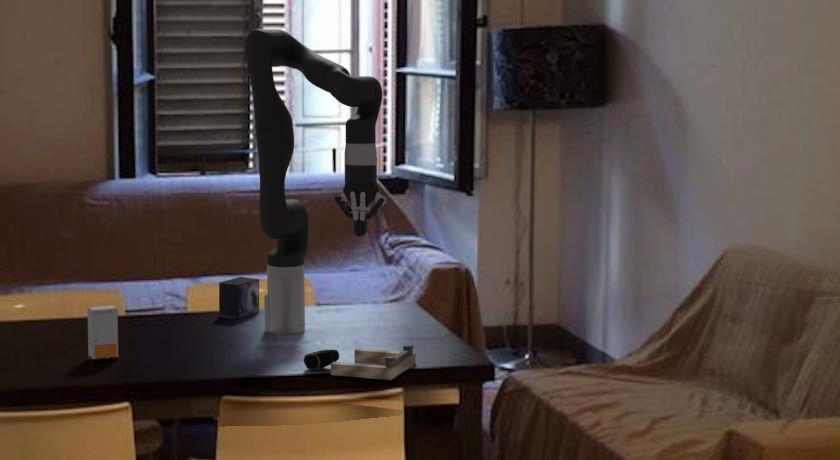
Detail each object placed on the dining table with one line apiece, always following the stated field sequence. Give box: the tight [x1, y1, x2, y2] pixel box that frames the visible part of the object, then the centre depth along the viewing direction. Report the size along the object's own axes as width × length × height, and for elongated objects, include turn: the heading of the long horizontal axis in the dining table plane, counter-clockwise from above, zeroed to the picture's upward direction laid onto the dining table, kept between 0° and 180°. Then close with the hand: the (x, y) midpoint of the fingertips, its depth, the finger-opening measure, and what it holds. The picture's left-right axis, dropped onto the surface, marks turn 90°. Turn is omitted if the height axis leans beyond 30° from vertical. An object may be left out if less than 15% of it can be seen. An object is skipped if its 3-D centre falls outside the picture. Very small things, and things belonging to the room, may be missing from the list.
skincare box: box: [87, 304, 119, 359], centre depth 296 cm, size 6×4×12 cm
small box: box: [218, 276, 260, 320], centre depth 341 cm, size 11×6×10 cm, turn 155°
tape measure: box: [303, 349, 340, 371], centre depth 287 cm, size 7×7×4 cm
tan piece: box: [330, 344, 416, 381], centre depth 287 cm, size 14×16×4 cm
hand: (360, 236), depth 304 cm, fingers closed
